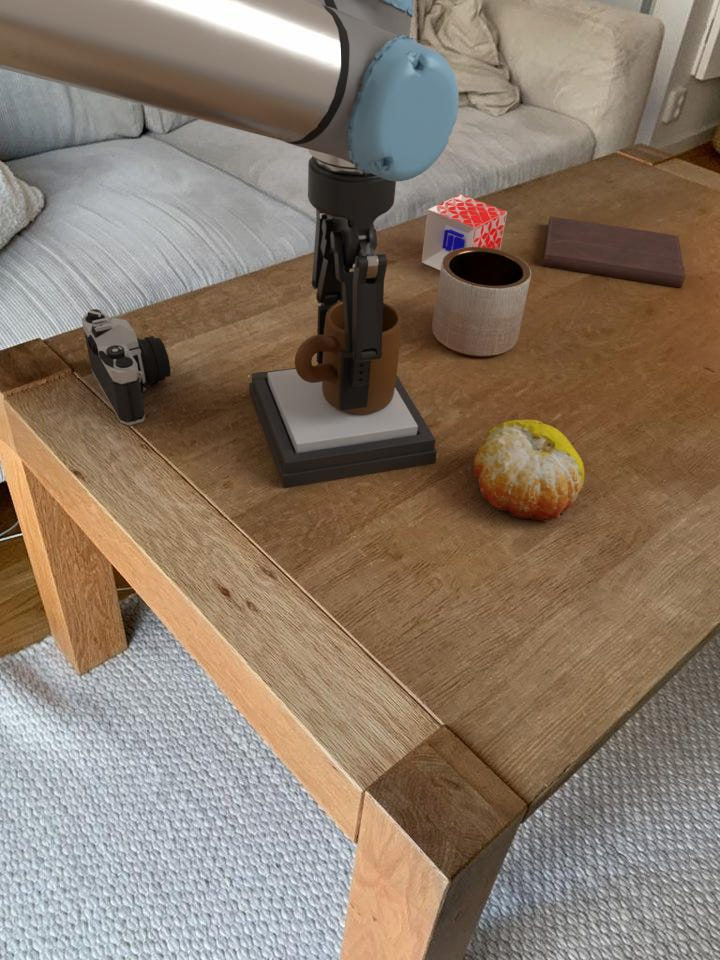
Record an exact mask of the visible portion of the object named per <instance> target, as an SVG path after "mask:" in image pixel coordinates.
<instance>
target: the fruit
mask: <svg viewBox="0 0 720 960" xmlns="http://www.w3.org/2000/svg"><path fill="white" fill-rule="evenodd" d="M473 467H474V473H475V474H474V475H473V476H474V477H475V478H477V481H478V486H479V491H480V493H481V497H483V498H485V499H484V501H486V502H488V503H489V504H490V505H491V506H492V507H494V509H495V510H498V511H505V512H508V514H509V516H511V517H514V518H518V519H524V520H526V519H532V521H535V522H536V521H543V522H545V521H551V520H553V519H558V518H561V517H560V516H564V514H565V513H566V512H567V510H568V509H570V507H572V506H574V505H575V502H576V500H577V499H578V498H579V496H580V495H581V492H582V491H583V488H584V483H585V467H584V462H583V460H582V458H581V456H580V455H579V453H578V451H576V449H575V447H574V446H573V445H572V443H571V442H570V441H569V439H568V438H567V437H566V435H565V434H564V433H563V432H561V431H560V430H559V429H557V428H556V427H554V426H552V425H549V424H547V423H543V422H542V421H541V420H537V419H513V420H508V421H504V422H502V423H500V424H498V425H496V426H494V427H491V428H490V429H489V430H488V432H487V433H486V435H485V438H484V440H483V441H482V444H481V445H480V447H479V449H478V451H477V453H476V454H475V455H474V462H473Z"/></svg>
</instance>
